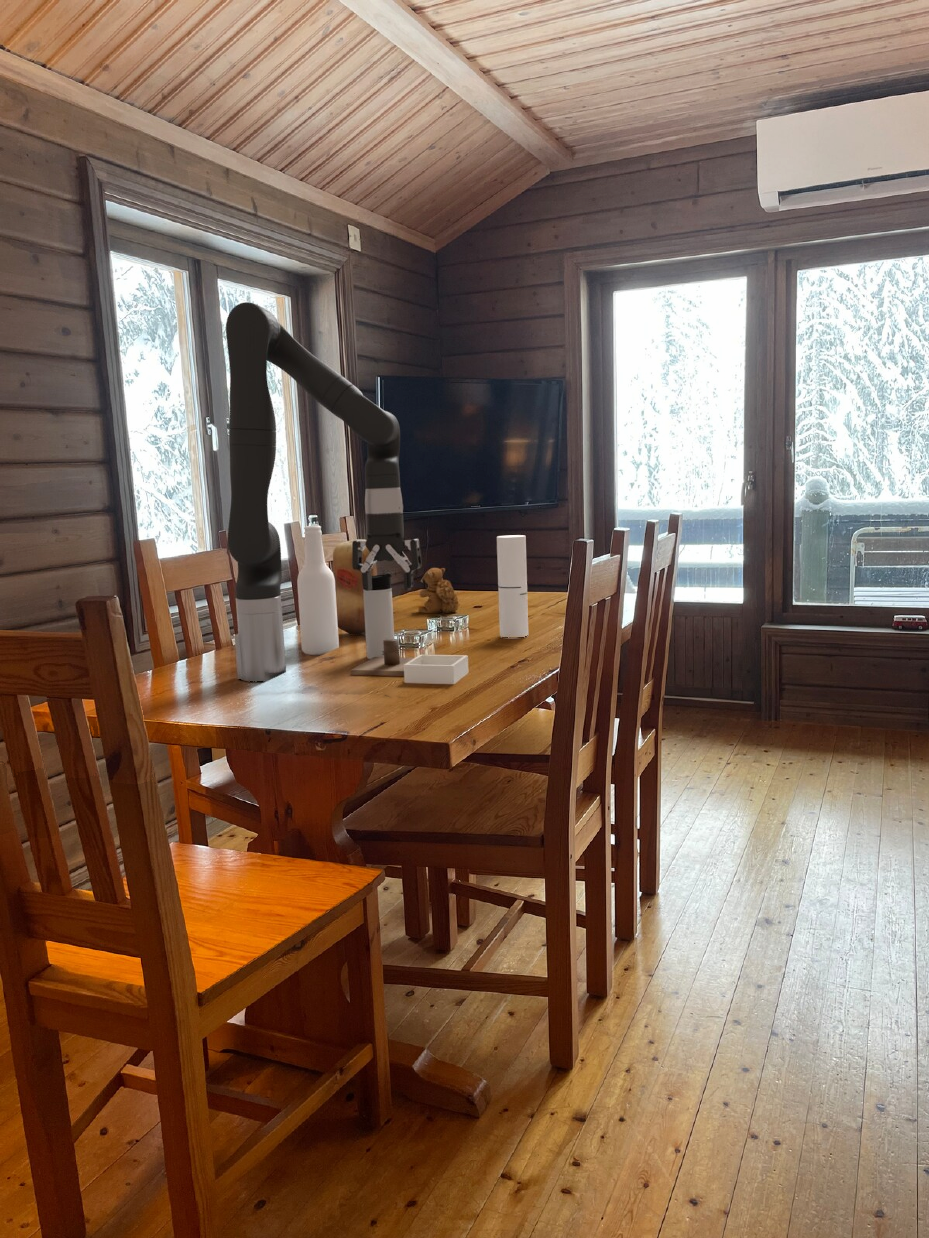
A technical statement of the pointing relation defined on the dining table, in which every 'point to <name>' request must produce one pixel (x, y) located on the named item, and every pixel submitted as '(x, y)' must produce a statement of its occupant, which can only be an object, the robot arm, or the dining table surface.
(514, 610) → the cylindrical container
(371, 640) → the travel mug
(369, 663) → the lid
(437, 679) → the dish
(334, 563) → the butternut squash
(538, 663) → the dining table surface
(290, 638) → the dining table surface
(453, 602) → the stuffed squirrel
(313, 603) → the alcohol
